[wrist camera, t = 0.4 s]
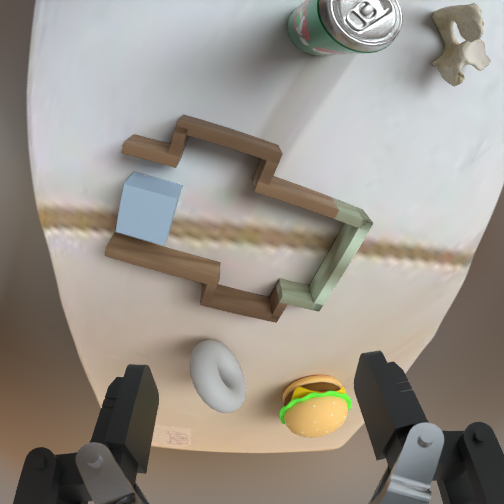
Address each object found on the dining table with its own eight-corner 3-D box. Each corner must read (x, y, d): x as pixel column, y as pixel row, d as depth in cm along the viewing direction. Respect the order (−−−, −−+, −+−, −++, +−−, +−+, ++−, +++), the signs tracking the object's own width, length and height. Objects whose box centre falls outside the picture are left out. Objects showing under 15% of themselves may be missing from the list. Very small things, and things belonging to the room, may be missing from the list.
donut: (249, 360, 45) (253, 420, 36) (229, 368, 45) (230, 427, 37) (208, 320, 40) (204, 386, 31) (187, 330, 41) (179, 394, 32)
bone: (480, 101, 24) (505, 96, 16) (425, 83, 26) (430, 69, 18) (486, 31, 20) (508, 4, 12) (431, 14, 22) (435, -21, 14)
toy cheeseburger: (287, 367, 46) (294, 416, 39) (356, 368, 48) (370, 412, 41) (268, 405, 53) (273, 448, 45) (330, 405, 54) (339, 444, 47)
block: (134, 171, 29) (123, 184, 26) (182, 184, 30) (177, 199, 27) (125, 215, 31) (115, 231, 28) (170, 227, 32) (164, 245, 30)
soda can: (353, 31, 22) (423, 19, 12) (317, 66, 24) (371, 70, 14) (311, -6, 20) (360, -45, 10) (274, 30, 22) (302, 5, 12)
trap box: (141, 103, 25) (132, 108, 23) (375, 185, 31) (387, 197, 28) (110, 261, 34) (102, 277, 32) (303, 311, 40) (307, 329, 37)
